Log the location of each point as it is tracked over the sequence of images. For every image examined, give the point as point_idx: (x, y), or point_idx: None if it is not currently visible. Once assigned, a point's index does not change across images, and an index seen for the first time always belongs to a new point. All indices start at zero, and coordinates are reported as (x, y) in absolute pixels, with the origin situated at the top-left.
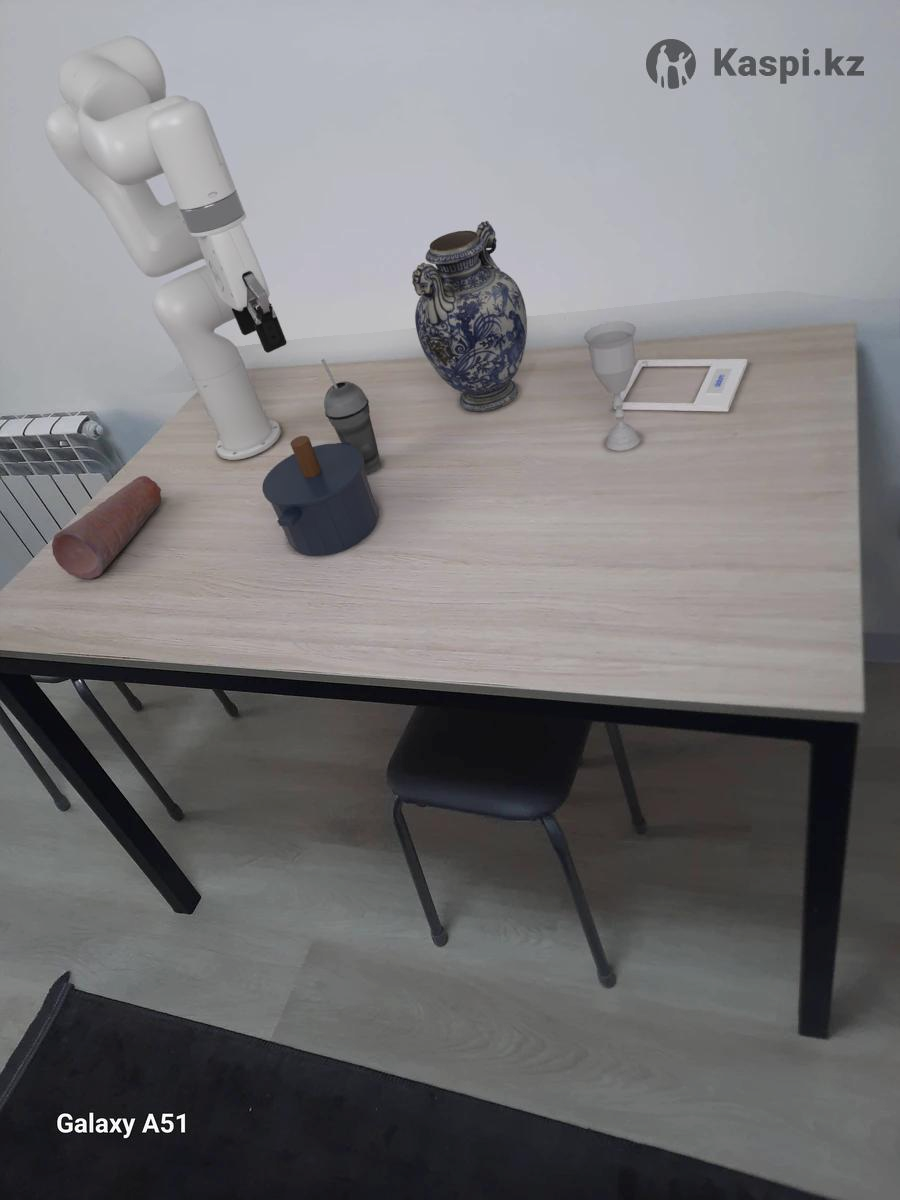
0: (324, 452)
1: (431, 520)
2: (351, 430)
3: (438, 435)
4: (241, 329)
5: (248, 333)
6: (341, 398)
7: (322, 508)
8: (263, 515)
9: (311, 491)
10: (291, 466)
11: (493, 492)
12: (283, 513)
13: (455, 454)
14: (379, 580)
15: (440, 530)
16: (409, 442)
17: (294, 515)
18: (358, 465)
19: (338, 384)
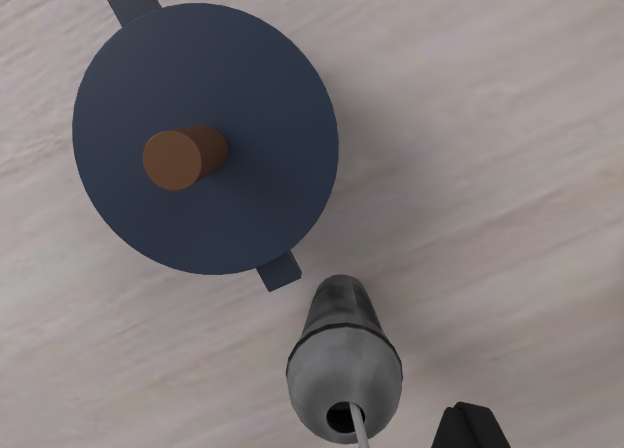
0: (255, 224)
1: (89, 243)
2: (308, 327)
3: (293, 422)
4: (472, 432)
5: (438, 428)
6: (308, 381)
7: None
8: (421, 76)
9: (127, 92)
10: (285, 138)
11: (65, 345)
12: (153, 5)
13: (215, 394)
14: (21, 77)
15: (52, 231)
16: None
17: (118, 17)
18: (121, 227)
19: (378, 425)
